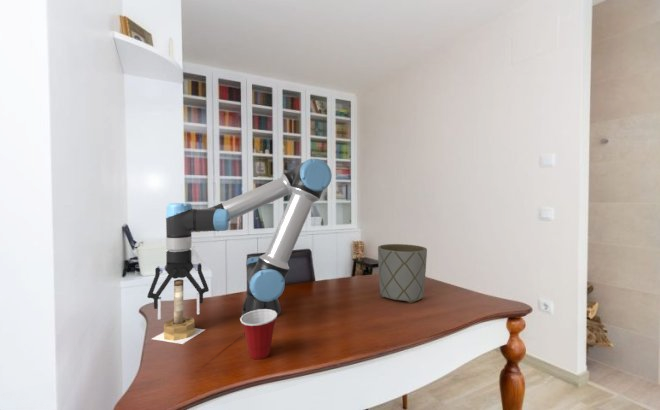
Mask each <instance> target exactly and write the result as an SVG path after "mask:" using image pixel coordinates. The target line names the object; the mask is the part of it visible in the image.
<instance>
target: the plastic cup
mask: <svg viewBox="0 0 660 410" xmlns="http://www.w3.org/2000/svg"><path fill="white" fill-rule="evenodd" d="M277 317H278V316H277V313H276V311H274V310H271V309H258V310H254V311H250V312H248V313H245V314H244V315H243V316H242V315H241V317H239V320H240V323H241V325H242V326H243V330H244V334H245V341H246V345H247V350H248V354H249V357H250V359H252V360H262V359H265V358H268V356H269V355H270V352H271V347H272V346H271V345H272V341H273V335H274V328H275V324H276V323H275V322H276V319H277Z"/></svg>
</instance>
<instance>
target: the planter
mask: <svg viewBox="0 0 660 410" xmlns="http://www.w3.org/2000/svg"><path fill="white" fill-rule="evenodd" d="M377 255H378V256H377V258H378V259H377V260H378V264H377V265H378V280H379V281H378V283H379V294H380V297H381V298H382V299H384V298H388V299H391V300H395V301H402V302H403V301H404V302H407V303H408V304H412V303H415V302H418V301H419V300H422V299H423V298H424V294H425V283H426V271H427V270H426V269H427V259H428V249H427V247H425V246H420V245H417V244H416V245H414V244H403V243H401V244H399V243H390V244H389V243H387V244H382V245H378V246H377Z"/></svg>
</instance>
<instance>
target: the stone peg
mask: <svg viewBox="0 0 660 410" xmlns="http://www.w3.org/2000/svg"><path fill="white" fill-rule="evenodd" d="M183 317H184V279H183V278H177V279H174V280H173V318H174V324H175V325H179V324H183Z"/></svg>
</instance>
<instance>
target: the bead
mask: <svg viewBox="0 0 660 410" xmlns="http://www.w3.org/2000/svg"><path fill="white" fill-rule="evenodd" d="M195 324H196V323H195V319H194V317H190V316H183V324H179V325H175V324H174V317H173V318H171V319H168V320H167V321H165V322H163V332H164V339H166V340H172V341H175V340H180V339H186V338H188V337H190V336H191V335H193V334H195V328H196V326H195Z"/></svg>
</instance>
